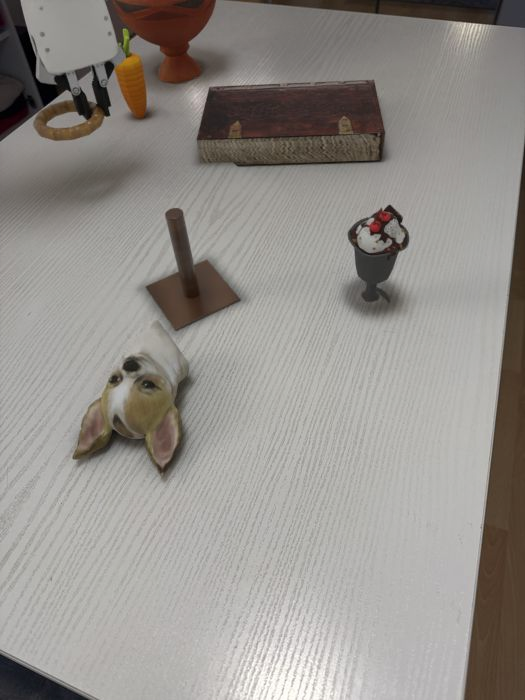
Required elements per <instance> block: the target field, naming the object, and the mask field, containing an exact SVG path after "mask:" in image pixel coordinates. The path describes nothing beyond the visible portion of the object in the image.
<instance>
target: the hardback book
mask: <svg viewBox="0 0 525 700" xmlns="http://www.w3.org/2000/svg"><path fill="white" fill-rule="evenodd" d="M385 137H386V130H385V125H384V120H383V115H382V111H381V106H380V101H379V97H378V92H377V87H376V82H375V79H359V80H338V81H337V80H335V81H313V82H288V83H265V84H244V85H220V86H219V85H217V86H209V88H208V91H207V95H206V98H205V102H204V107H203V111H202V115H201V119H200V124H199V128H198V132H197V136H196V143H197V150H198V156H199V162H200V164H213V163H233V164H234V165H238V166H239V165H241V166H242V165H267V164H268V165H271V164H272V165H273V164H299V163H300V164H301V163H304V164H305V163H332V162H361V161H362V162H363V161H364V162H365V161H382V160H383V152H384V145H385Z"/></svg>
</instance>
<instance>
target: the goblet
mask: <svg viewBox="0 0 525 700" xmlns="http://www.w3.org/2000/svg"><path fill="white" fill-rule="evenodd" d="M216 2H217V0H112V4H113V7H114V9H115V11H116V13H117V15H118V17H119V18H120V20H121V21H122V23H124V25H126V27H128V28H129V29H130V31H132V32H133V33H134V34H135V35H136V36H138V37H139V38H140V39H142V40H144V41H146V42H148V43H150V44H152V45H155V46H158V47H159V52H161V53H162V54H163V55H164V58H163V60H162V62H161V64H160V65H159V68H158V79H160V80H161V82H164V83H167V84H182V83H187V82H189V81H193V80H194V79H196V78H198V77H200V76H201V73H202V68H201V66H200V64H199V63H198V61H196V59H194V58H193V57H192V56H191V55H189V54H188V51H189V49H190V42H191V41H192V40H194V39H195V38H196V37H197V36H198V35H199V34H200V33H201V32H202V31H203V30H204V28H205V27H206V26H207V24H208V23H209V21H210V19H211V17H213V13H214V11H215V8H216Z"/></svg>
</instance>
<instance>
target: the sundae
mask: <svg viewBox="0 0 525 700" xmlns="http://www.w3.org/2000/svg"><path fill="white" fill-rule="evenodd" d="M403 221H404V217H403V215H402V214H401V213H400V212H399V211H398V210H397V209H395V207H394V206H393V205H391V204H388V205H386V207H385V208H384V209H383V208H382V207H380V208H379V210H377V211H375V212H374V213H372V214H370V216H368V217H364V218H361V219H360V220H357V221H356V222H355V223H354V224H353V225H352V226H351V227H350V228H349V229H348V231H347V240H348V241H349V243H350V245H351V246H352V247H353V251H354V264H355V269H356V274H357V276H358V277H359V279H360V280H361V281H363V282H364V283H366V288H365V290H364V291H362V292H361V294H360V295H361V298H362V300H364V301H365V302H367V303H373V302H376V301H378V300H379V299H380V296H381V297H382V298H383V299H384V300H385V301H386V302H388V303H389V304H391V298H390V296H389V294H388V293H387V292H386V291H385V290H383V289H382V288H380V287H378V284H381V283H383V282H385V281H388V279H389V278H390V277H391V274H392V272H393V270H394V268H395V265H396V261H397V259H398V256H399V253H400V252H403V251H405V250H406V249H407V248H408V246H409V244H410V233H409V231H408V229H407V227H405V225H404V224H402V223H403Z"/></svg>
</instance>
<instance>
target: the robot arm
mask: <svg viewBox="0 0 525 700" xmlns="http://www.w3.org/2000/svg"><path fill="white" fill-rule="evenodd" d="M20 5H21V9H22V13H23V18H24V21H25V26H26V28H27V32H28V35H29V39H30V43H31V46H32V49H33V52H34V54H35V57H36V64H35V65H36V66H35V77H36V79H37V80H38V82H40V83H41V84H47V85H57V86H60V88H63V89H64V90H66V91H68V92H70V94H71V97H72V100H73V101H74V104H75V107H76V110H77V112H76V113H77V114H78V115H79V117H81V116H82V117H83V118H84V119H85V121H87V120H88V119H90V118H91V117H92V114H91V110H90V107H89V104H88V101H89V100H88V96H87V95H86V93H85V92H84V91H83V89H82V87H81V86H80V84H79V80H78V76H77V72H76V70H81V69H84V68H88V67H90V70H91V74H92V81H91V87H92V90H93V91H92V92H93V94H94V98H95V101H96V102H95V103H96V104H98V106H99V107H100V108H101V109H102V110H103V111H104V113H105V117H106V118H109V117H111V112H110V109H109V108H111V107H112V103H111V99H110V94H109V90H108V85H109V81H110V78H111V76H112V74H113V72H114V71H115V69H114V68H115V67H117V66H118V65H119V64H120V63H122V62H123V61H124V60H125V59H126V55H125V53H124V52H123V50H122V48H121V47H120V45H119V42H118V41H117V36H116V32H115V29H114V25H113V22H112V20H111V15H110V12H109V9H108V7H107V4H106V0H20Z"/></svg>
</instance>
